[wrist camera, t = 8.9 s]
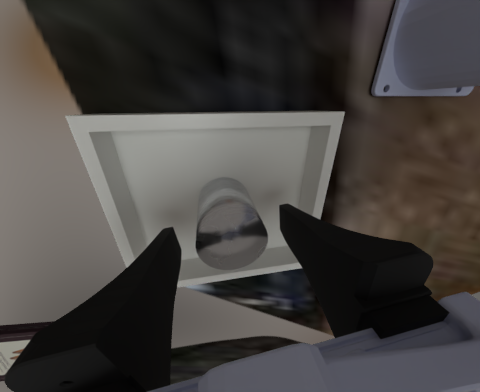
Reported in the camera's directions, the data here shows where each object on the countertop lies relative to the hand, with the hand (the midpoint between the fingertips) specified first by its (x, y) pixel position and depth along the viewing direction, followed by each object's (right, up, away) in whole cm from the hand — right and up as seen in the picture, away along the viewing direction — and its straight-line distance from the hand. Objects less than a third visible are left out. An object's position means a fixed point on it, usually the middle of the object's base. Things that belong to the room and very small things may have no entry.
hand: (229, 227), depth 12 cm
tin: (-1, +2, +3) cm, 4 cm away
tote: (-1, +2, +4) cm, 5 cm away
